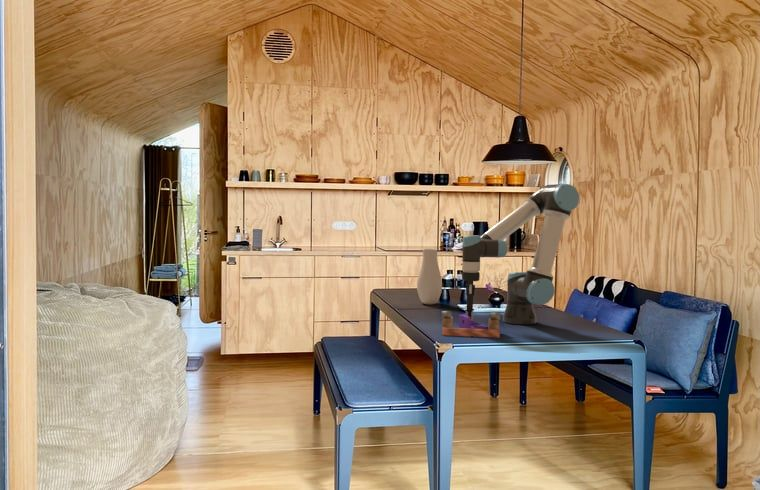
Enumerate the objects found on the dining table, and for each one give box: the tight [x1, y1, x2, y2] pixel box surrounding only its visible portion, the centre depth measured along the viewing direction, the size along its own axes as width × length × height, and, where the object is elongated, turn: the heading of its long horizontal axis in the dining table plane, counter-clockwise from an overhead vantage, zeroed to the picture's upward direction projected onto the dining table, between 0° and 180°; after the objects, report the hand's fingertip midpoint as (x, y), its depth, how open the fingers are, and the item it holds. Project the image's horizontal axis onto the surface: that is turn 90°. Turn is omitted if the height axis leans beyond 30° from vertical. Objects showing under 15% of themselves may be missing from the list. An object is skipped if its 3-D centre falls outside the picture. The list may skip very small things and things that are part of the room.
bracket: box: [458, 314, 488, 329], centre depth 259 cm, size 12×7×7 cm, turn 110°
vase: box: [416, 248, 443, 305], centre depth 334 cm, size 14×14×30 cm
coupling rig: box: [441, 310, 501, 339], centre depth 253 cm, size 24×10×9 cm, turn 83°
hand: (469, 326), depth 262 cm, fingers closed
